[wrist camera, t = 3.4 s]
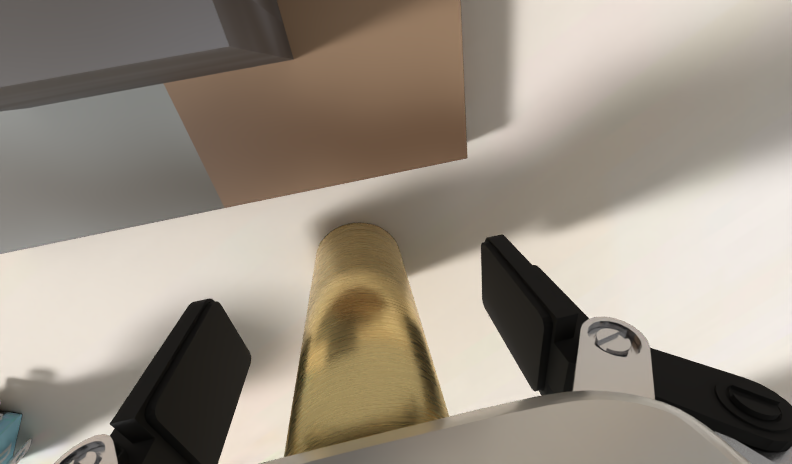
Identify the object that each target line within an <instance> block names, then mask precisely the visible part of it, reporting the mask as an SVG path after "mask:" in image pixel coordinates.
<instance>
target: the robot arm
mask: <svg viewBox="0 0 792 464" xmlns="http://www.w3.org/2000/svg"><path fill="white" fill-rule="evenodd" d="M481 266H482V300H483V304H484V307H485V309H486V311H487V313H488V314H489V316H490V318H491V320H492V321H493V323H494V325H495V326H496V328H497V330H498V332H499V333H500V335H501V337H502V338H503V340H504V342H505V344H506V345H507V347H508V349H509V350H510V352H511V354H512V356H513V357H514V359H515V361H516V363H517V364H518V366H519V368H520V369H521V371H522V373H523V375H524V376H525V378H526V380H527V381H528V383H529V385H530V386H531V388H532V389H533V390H534V391H538V390H539V392H540V394H541V395H542V396H537V397H532V398H528V399H523V400H519V401H514V402H510V403H505V404H501V405H496V406H492V407H487V408H483V409H478V410H474V411H470V412H466V413H462V414H458V415H454V416H450V417H445V418H441V419H437V420H433V421H429V422H425V423H421V424H417V425H412V426H408V427H404V428H400V429H396V430H392V431H388V432H384V433H380V434H376V435H372V436H368V437H364V438H359V439H355V440H351V441H347V442H343V443H339V444H335V445H331V446H327V447H323V448H319V449H315V450H311V451H307V452H303V453H299V454H295V455H291V456H287V457H283V458H279V459H275V460H271V461H267V462H263V463H260V464H792V406H791V405H790V404H789V403H788V402H787V401H786V400H784V399H783V398H782V397H780V396H779V395H778V394H777V393H775V392H774V391H772V390H770V389H768V388H766V387H765V386H763V385H761V384H759V383H756V382H754V381H751V380H749V379H746V378H743V377H740V376H737V375H734V374H731V373H728V372H725V371H721V370H718V369H715V368H712V367H709V366H706V365H703V364H699V363H696V362H693V361H690V360H687V359H684V358H681V357H678V356H674V355H671V354H668V353H665V352H662V351H659V350H656V349H652V348H650V346H649V343H648V340H647V339H646V338H645V336H644V335H643V334H642V333H641V332H640V331H639V330H637V329H636V328H635V327H634V326H632V325H630V324H628V323H626V322H624V321H621V320H618V319H615V318H610V317H594V318H591V319H589V318H588V317H587V316H586V315H585V314H584V313H583V312H582V311H581V310H580V309H579V308H578V307H577V306H576V305H575V304H574V303H573V302H572V301H571V300H570V298H569V297H568V296H567V295H566V294H565V293H564V292H563V291H562V290H561V289H560V288H559V287H558V286H557V285H556V284H555V283H554V282H553V281H552V280H551V279H550V278H549V277H548V276H547V275H546V274H545V273H544V272H543V271H542V270H541V269H540V268H539V267H538V266H536V265H532V264H531V263H530V262H529V261H528V260H527V259H526V258H525V257H524V256H523V255H522V254H521V253H520V252H519V251H518V250H517V249H516V248H515V246H514V245H513V244H512V243H511V242H510V241H509V240H508V239H507V238H506V237H505V236H504V235H497V236H493V237H488V238H486V240H485V242H484V243H482V244H481ZM250 363H251V355H250V352H249V350H248V349H247V347H246V345H245V344H244V342H243V340H242V339H241V337H240V335H239V334H238V332H237V330H236V329H235V327H234V326H233V324H232V322H231V321H230V319H229V317H228V316H227V314H226V312H225V311H224V309H223V307H222V306H221V304H220V303H219V302H215V301H214V300H213V299H205V300H201V301H196V302H192V303H191V304H190V305H189V306H188V307H187V309H186V310H185V312H184V313H183V315H182V316H181V318H180V319H179V321H178V322H177V324H176V325H175V327H174V328H173V330H172V331H171V333H170V334H169V336H168V337H167V339H166V340H165V342H164V343H163V345H162V346H161V348H160V349H159V351H158V352H157V354H156V355H155V357H154V358H153V360H152V361H151V363H150V364H149V366H148V367H147V369H146V370H145V372H144V373H143V375H142V376H141V378H140V379H139V381H138V382H137V384H136V385H135V387H134V388H133V390H132V391H131V393H130V394H129V396H128V397H127V399H126V400H125V402H124V403H123V405H122V406H121V408H120V409H119V411H118V412H117V414H116V415H115V417H114V418H113V420H112V421H111V423H110V425H111V426H113V427H114V428H115V429H114V430H113V432H112V434H111V435H110V436H109V435H105V434H102V435H96V436H93V437H91V438H88V439H86V440H84V441H82V442H81V443H79V444H77V445H76V446H74V447H73V448H71V449H70V450H69V451H68V452H66V453H65V454H64V455H62V456H61V457H60V458H59V459H58V460H57V461H56V462H55V463H54V464H218V461H219V458H220V455H221V452H222V449H223V446H224V443H225V440H226V437H227V434H228V431H229V428H230V425H231V421H232V418H233V415H234V412H235V409H236V406H237V403H238V400H239V397H240V394H241V391H242V388H243V385H244V382H245V379H246V375H247V372H248V369H249V366H250Z"/></svg>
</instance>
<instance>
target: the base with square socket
mask: <svg viewBox="0 0 792 464" xmlns="http://www.w3.org/2000/svg"><path fill="white" fill-rule="evenodd" d="M466 158H467V139H466V116H465V93H464V70H463V47H462V24H461V1H460V0H0V254H3V253H7V252H12V251H17V250H22V249H27V248H32V247H37V246H42V245H46V244H51V243H56V242H61V241H66V240H71V239H76V238H81V237H85V236H90V235H95V234H100V233H105V232H110V231H115V230H120V229H125V228H129V227H134V226H139V225H144V224H149V223H154V222H159V221H164V220H168V219H173V218H178V217H183V216H188V215H193V214H198V213H203V212H207V211H212V210H217V209H222V208H227V207H232V206H237V205H242V204H246V203H251V202H256V201H261V200H266V199H271V198H276V197H281V196H285V195H290V194H295V193H300V192H305V191H310V190H315V189H320V188H324V187H329V186H334V185H339V184H344V183H349V182H354V181H359V180H364V179H368V178H373V177H378V176H383V175H388V174H393V173H398V172H403V171H407V170H412V169H417V168H422V167H427V166H432V165H437V164H442V163H446V162H451V161H456V160H461V159H466Z"/></svg>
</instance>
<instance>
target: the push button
mask: <svg viewBox="0 0 792 464" xmlns="http://www.w3.org/2000/svg"><path fill="white" fill-rule="evenodd" d="M0 403H1V400H0ZM21 418H22V414H17V413H10V412H3V411H0V464H17V463H18V462H19V461H20V459H21V458H22V457H23V456H24V455H25V454H26V452H27V451H28V449H29V448H30V444H31V440H32V439H29V440H28V441H27V442H26V443H25V444H24V445H23V446H22V448H21V449H20V450H19V451H18V452H17V453H16V455H15V456H14V457H13V452H14V448H15V444H16V440H17V435H18V431H19V427H20V423H21ZM21 452H22V453H21ZM19 455H20V456H19ZM18 456H19V457H18Z"/></svg>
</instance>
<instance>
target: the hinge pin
mask: <svg viewBox="0 0 792 464" xmlns="http://www.w3.org/2000/svg"><path fill="white" fill-rule="evenodd" d="M445 417H449V414H448V411H447V408H446V404H445V401H444V398H443V395H442V391H441V388H440V385H439V381H438V378H437V375H436V371H435V368H434V365H433V361H432V358H431V355H430V351H429V348H428V345H427V341H426V338H425V335H424V331H423V328H422V325H421V321H420V318H419V315H418V311H417V308H416V305H415V301H414V298H413V295H412V291H411V288H410V285H409V281H408V278H407V275H406V271H405V268H404V265H403V261H402V258H401V255H400V251H399V248H398V245H397V243H396V241H395V240H394V238H393V237H392V236H391V235H390V234H389V233H388V232H387V231H385V230H384V229H382V228H380V227H378V226H375V225H372V224H368V223H351V224H347V225H343V226H341V227H338V228H336V229H335V230H333V231H332V232H330V233H329V234H328V235H327V236H326V237H325V238H324V239H323V240H322V242H321V243H320V245H319V247H318V250H317V254H316V260H315V266H314V272H313V279H312V285H311V291H310V297H309V304H308V310H307V316H306V322H305V329H304V335H303V341H302V347H301V354H300V360H299V366H298V372H297V379H296V385H295V391H294V397H293V404H292V410H291V416H290V422H289V429H288V435H287V441H286V447H285V454H284V457H287V456H291V455H295V454H299V453H303V452H307V451H311V450H315V449H319V448H323V447H327V446H331V445H335V444H339V443H343V442H347V441H351V440H355V439H359V438H364V437H368V436H372V435H376V434H380V433H384V432H388V431H392V430H396V429H400V428H404V427H408V426H412V425H417V424H421V423H425V422H429V421H433V420H437V419H441V418H445Z"/></svg>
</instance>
